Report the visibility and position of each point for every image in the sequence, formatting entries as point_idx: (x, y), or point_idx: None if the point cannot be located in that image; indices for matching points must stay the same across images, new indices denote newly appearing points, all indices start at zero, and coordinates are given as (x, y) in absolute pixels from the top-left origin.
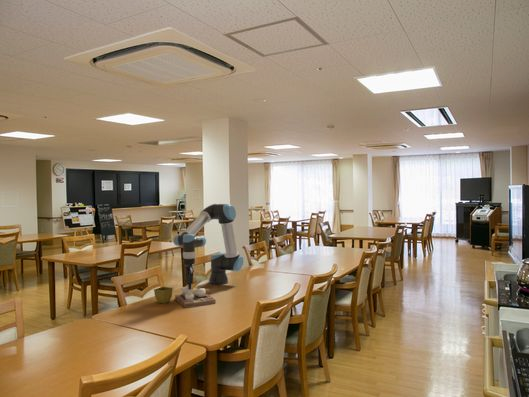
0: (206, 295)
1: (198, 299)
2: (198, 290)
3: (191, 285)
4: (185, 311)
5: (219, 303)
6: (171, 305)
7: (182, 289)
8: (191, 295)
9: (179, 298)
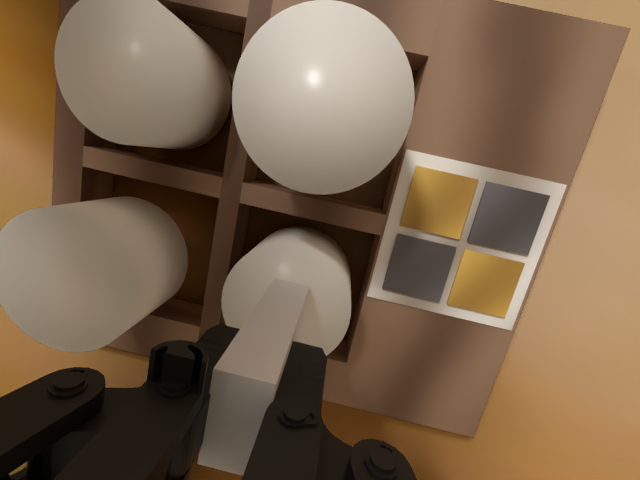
0: None
1: (440, 235)
2: (353, 187)
3: (283, 364)
4: (576, 465)
5: (636, 3)
6: None
7: (91, 347)
8: (350, 307)
9: None
